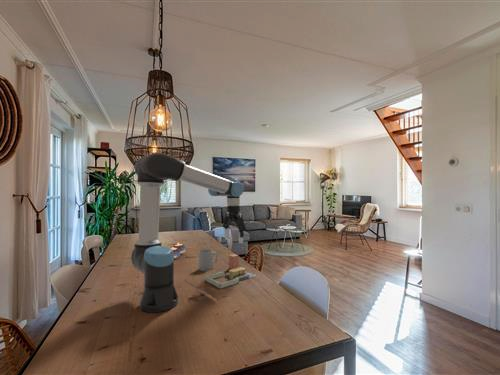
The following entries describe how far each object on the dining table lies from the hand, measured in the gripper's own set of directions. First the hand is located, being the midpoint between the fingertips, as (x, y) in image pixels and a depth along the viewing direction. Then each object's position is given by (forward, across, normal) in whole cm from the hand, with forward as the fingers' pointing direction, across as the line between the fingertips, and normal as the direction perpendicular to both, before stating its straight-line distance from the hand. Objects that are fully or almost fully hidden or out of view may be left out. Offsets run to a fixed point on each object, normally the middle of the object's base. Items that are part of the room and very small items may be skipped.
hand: (234, 241), depth 150 cm
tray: (+17, -13, +17) cm, 28 cm away
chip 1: (+16, -13, +10) cm, 23 cm away
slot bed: (+17, -13, +5) cm, 22 cm away
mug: (+17, +13, +10) cm, 24 cm away
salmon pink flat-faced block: (+17, 0, 0) cm, 17 cm away
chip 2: (+16, -13, +5) cm, 21 cm away
